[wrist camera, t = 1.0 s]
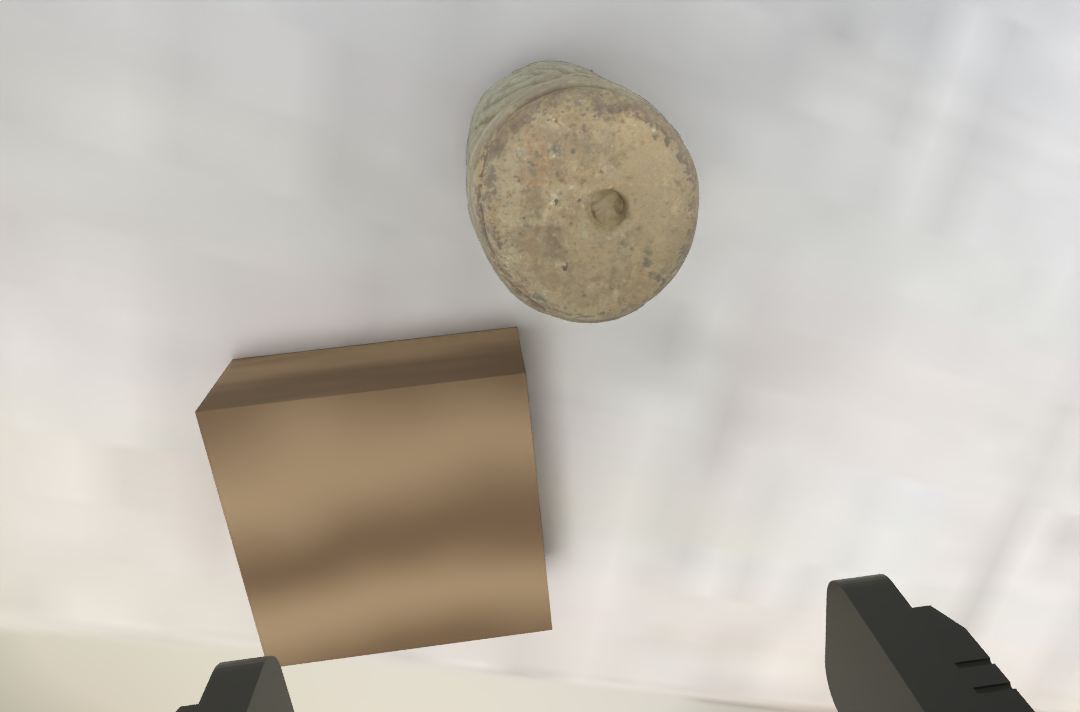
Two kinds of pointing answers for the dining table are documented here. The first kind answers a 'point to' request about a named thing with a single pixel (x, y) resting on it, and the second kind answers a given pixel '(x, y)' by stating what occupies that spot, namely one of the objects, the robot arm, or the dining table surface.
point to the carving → (578, 192)
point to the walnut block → (381, 494)
